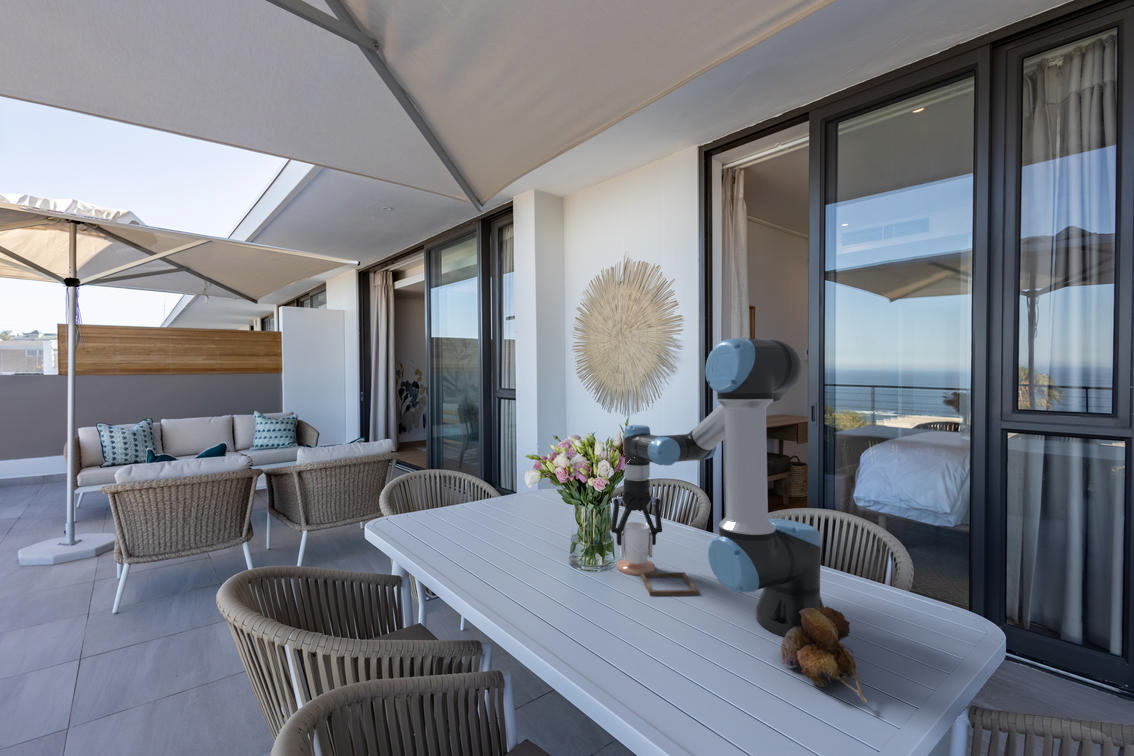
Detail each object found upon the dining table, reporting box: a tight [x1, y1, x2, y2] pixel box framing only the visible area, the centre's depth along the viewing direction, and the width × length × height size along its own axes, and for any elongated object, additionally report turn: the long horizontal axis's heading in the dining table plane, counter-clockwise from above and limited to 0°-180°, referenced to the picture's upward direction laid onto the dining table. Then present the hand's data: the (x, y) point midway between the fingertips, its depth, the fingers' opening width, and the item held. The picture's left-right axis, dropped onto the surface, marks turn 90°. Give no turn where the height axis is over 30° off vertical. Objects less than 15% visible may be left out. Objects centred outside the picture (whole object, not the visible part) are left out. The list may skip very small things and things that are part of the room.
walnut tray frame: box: [640, 571, 699, 597], centre depth 138 cm, size 13×13×1 cm
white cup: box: [622, 521, 651, 564], centre depth 150 cm, size 8×8×10 cm
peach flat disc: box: [616, 558, 656, 576], centre depth 150 cm, size 11×11×1 cm
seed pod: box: [780, 604, 868, 705], centre depth 97 cm, size 13×16×15 cm
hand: (636, 555), depth 150 cm, fingers closed on white cup, 8 cm apart
